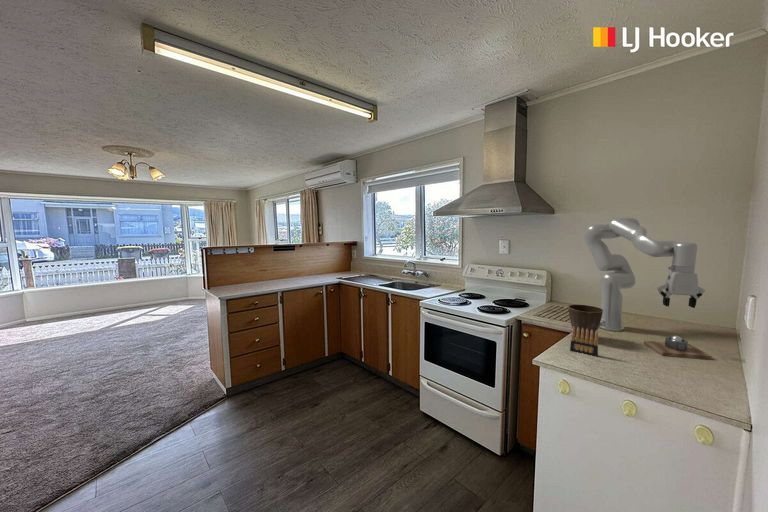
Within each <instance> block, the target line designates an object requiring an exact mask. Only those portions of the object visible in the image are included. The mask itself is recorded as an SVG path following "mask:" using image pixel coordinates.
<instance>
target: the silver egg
mask: <svg viewBox="0 0 768 512" xmlns="http://www.w3.org/2000/svg"><path fill="white" fill-rule="evenodd" d="M671 337H672V338H671V340H673V341H678V342H682V339H683V338H682V337H680V336H679V335H672V336H671Z"/></svg>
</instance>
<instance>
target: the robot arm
mask: <svg viewBox="0 0 768 512" xmlns="http://www.w3.org/2000/svg"><path fill="white" fill-rule="evenodd" d="M647 233H648V231H647V229H646V228H645V227H644V226H641V224H640V222H639V220H638V219H636V218H634V217H616V218H613V219H612V220H610V222H609V224H608V223H605V224H604V223H602V224H598V223H597V224H593V225H590V226H589V227H588V228H586V230H585V233H584V241H585V243H586V245H587V247H588V249H589V251H590V252H591V255H592V257H593V260H594V263H595V264H596V267H597V269H598V270H599V271H601V272H606V273H604V274H602V276H601V277H600V281H599V282H600V287H601V297H600V299H601V302H600V303H601V304H600V308H601V309H602V310H603V313H602V318H601V321H600V324H599V327H598V328H600V329H603V330H606V331H612V332H620V331H621V332H623V331H624V330H625V327H624V326H623V325H622V313H623V294H622V292H621V290H622V289H623V290H624V289H625V290H626V289H630V288H633V287H634V286H635V284H636V277H635V274H634V272H633V270H632V267H631V266H630V262H628V259H627V258H625V257H624V256H623V255H621V254H618V253H617V254H615V253H614V254H612V253H611V251H610V250H609V247H608V245H607V244H606V243H605V242H604V241H603V240H607V239H611V240H612V239H617V238H620V237H622V238H624V239H625V240H628V241H629V242H631V243H632V245H633V246H634V247H635V248H636V250H638V251H640V252H642V253H643V254H645V255H648V256H650V257H652V258H664V257H666V258H667V257H669V258H670V257H672V260H671V261H672V262H671V266H668V270H669V273H668V274H667V277H666V280H665V284H662V285H661V286H658V287H657V290H658V293H659V294H660V295H661V296H662V305H663V306H665V307H670V302H671V298H670V297H671V296H672V295H676V296H690V297H689V298H688V307H690V308H693V309H695V308H696V306H697V302H698V301H697V300H698V299H699V298H701V297H702V296H703V294H704V293H705V291H706V290H705V289H704V288H702V287H700V286H699V279H698V275H697V273H696V272H695V269H696V264H697V263H696V260H697V255H698V254H697V252H698V244H696V243H695V242H687V241H684V242H683V241H681V242H680V241H674V240H654V239H653V238H650V237H649V236H646V235H647ZM664 290H665V292H664Z"/></svg>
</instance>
